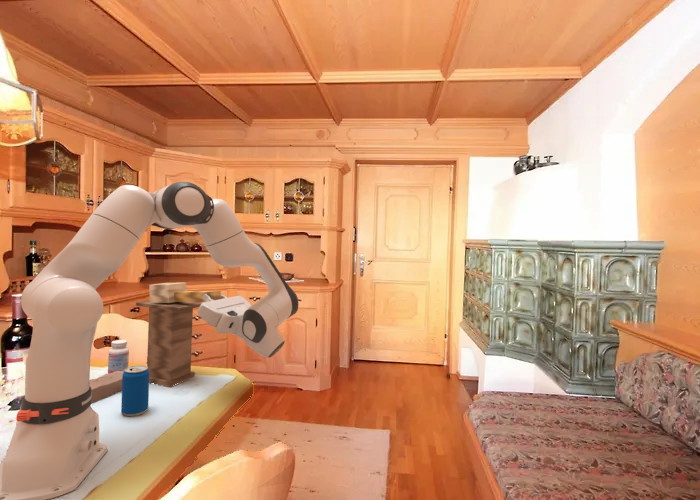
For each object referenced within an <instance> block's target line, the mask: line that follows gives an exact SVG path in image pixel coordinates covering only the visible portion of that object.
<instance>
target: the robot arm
mask: <svg viewBox="0 0 700 500" xmlns="http://www.w3.org/2000/svg"><path fill="white" fill-rule="evenodd" d="M151 226H154V227H158V228H161V229H164V230H174V229H182V228H186V227H189V226H190V227H191V228H193V229H195V231H197V233H198V234H199V235H200V236H201V239H202V241H203V244H204V246H205V248H206V250H207V252H208V254H209V256H210V257H211V259H212V260H213V262H215V263H216V264H217V265H219V266H222V267H224V268H225V267H226V268H238V267H239V268H240V267H241V268H242V267H251V268H253V269H255V271H257V273H258V274H259V276H260V278H261V279H262V280H263V282H264V283H265V285H266V286H267V288H268V292H267V294H266V295H265V296H263V297H262V298H260V299H259V300H257V301H255V303H253V304H251V303H250V302H249V300H247V299H246V298H245V297H243V296H242V295H236V296H229V297H228V296H226V295H223V294H221V299H219V300H213V299H212V300H211V298H210V297H211V296H210V295H209V294H204V295H203V297H202V298H203V299H204V300H205V301H206V302H202V304H201V305H200V307H198V308H197V314H198V316H199V317H200V318H201V319H202V320H203V321H204V322H205V323H206V324H208V325H210V326H211V327H213V328H215V329H214V330H215V331H216V333H218V334H230V335H234V336H236V337H237V338H238V339H241V340H243V341H244V343H245V344H246V345H247V346H248V347H249V348H251V349H252V350H253V351H254V352H255V353H256V354H258V355H260V356H262V357H264V358H266V359H270V358H271V357H273V356H274V355H276V354H277V353H278V352H279V351H280V350H281V349H282V347H284V345H285V343H286V340H285V338H284V337H283V336H282V334H280V333H279V330H278V329H279V326H280V325H281V324H283V323H284V322H285V321H286V320H288V319H289V318H291V317H292V316H293V315H295V314H296V313H298V309H299V297H298V295H297V293H296V292H295V291H294V290H293V289H292V288H291V286H290V285H289V284H288V283H287V282H286V280H285V279H284V276H282V273H281V272H280V271H279V269H278V268H277V266H276V265H275V263H274V261H273V260H272V258H271V257H270V255H269V254H268V252H267V251H266V250H265V248H264V247H263V246H262V245H260V244H259V243H257V242H253V241H252V240H251V239H250V238H249V237H248V235H247V234H246V232H245V230H244V228H243V226H242V224H241V221H240V220H239V219H238V217H237V216H236V214H235V212H234V211H233V209H232V207H231V206H230V205H229V204H228V203H227V201H226V200H224V199H222V198H212V197H211V196H210V195H208V194H207V193H206V192H205V190H204V189H202V188H201V187H200V186H198V185H197V184H195V183H192V182H190V181H178V182H174V183H173V182H172V183H171V184H169V185H166V186H165V185H164V186H163V187H161V188H160V189H157V190H156V191H154V192H149V191H146V190H145V189H144V188H142V187H140V186H136V185H132V184H124V185H121V186H118V187H117V188H116V189H115V190H114V191H113V192H111V193H110V194H109V195H107V197H106V198H105V199H103V200H102V202H101V203H100V204H99V205H98V206H97V207H96V208H95V210H94V211H93V212H92V213H91V215H90V216H89V217H88V219H86V221H85V222H84V224H83V225H82V226H81V227H80V228H79V230H78V231H77V232H76V233H75V235H74V236H73V238H72V239H71V240H70V241H69V243H68V244H67V245H66V246H65V247H64V248H63V249H62V250H61V251H59V252H58V254H57V255H55V257H54V258H53V259H51V261H49V263H47V264H46V266H45V267H44V268H42V270H41V271H40V272H39V273H38V274H37V275H36V276H35V277H34V279H32V281H30V282H29V283H28V284H27V285H26V286H25V287H24V289H23V291H22V292H21V293H22V294H21V297H20V299H21V300H20V304H21V309H22V310H23V312H24V314H25V315H26V316H27V317H28V318H29V319H31V321H32V335H31V341H30V345H29V351H28V354H27V357H26V359H25V377H24V396H23V397H22V399H21V404H20V407H19V410H18V411H17V413H16V418H15V419H16V423H15V425H16V426H15V428H14V430H13V434H12V437H11V439H10V442H9V445H8V447H7V449H6V454H5V457H4V458H2V459H1V461H0V500H49V499H53V498H57V497H59V496H62V495H65V494H67V493H70V492H72V491H74V490H76V489H77V488H78V486H79V485H80V484H81V483H82V482H83V481H84V480H85V478H86V477H87V476H88V475H89V474H90V472H92V470H93V469H94V467H96V465H97V464H98V463H99V461H100V460H101V459H102V458H103V457H104V455H105V454H106V453H107V452H108V451H109V450H108V445H107V443H106V444H105V443H101V442H100V414H99V413H97V411H95V410H94V409H93V408H92V407H91V404H92V403H91V398H92V392H91V387H90V386H89V380H90V376H91V375H90V374H91V373H90V372H91V371H90V369H91V355H92V347H93V345H94V344H93V342H94V339H95V335H96V330H97V326H98V323H99V321H100V319H101V317H102V316H103V312H104V302H103V299H102V297H101V296H100V293H99V292H98V291H97V288H98V287H100V286H101V285H102V283H104V281H106V280H107V279H108V278H109V277H110V276H112V275H113V274H114V273H115V272H117V271H119V269H120V268H121V266H122V265H123V264H124V263H125V261H126V260H127V258H128V257H129V255H130V254H131V253H132V251H133V250H134V248H135V246H136V245H137V244H138V242H139V241H140V240H141V238H142V236H143V235H144V233H145V232H146V230H147V229H148V228H150V227H151Z"/></svg>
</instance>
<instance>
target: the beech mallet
mask: <svg viewBox="0 0 700 500" xmlns="http://www.w3.org/2000/svg"><path fill="white" fill-rule="evenodd" d="M148 287H149V288H148V289H149V301H150V303H172V302H202V303H204V302H206V301H205V300H204V299H203V298H202V297H203V295H204V294H209V295H210V296H211V297H210V298H211V300H212V299H213V300H219V299H221V295H222V294H221V293H222V291H221V290H194V291H193V290H191V291H190V290H189V291H188V290H187V282H164V283H163V282H162V283H154V284H148Z"/></svg>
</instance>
